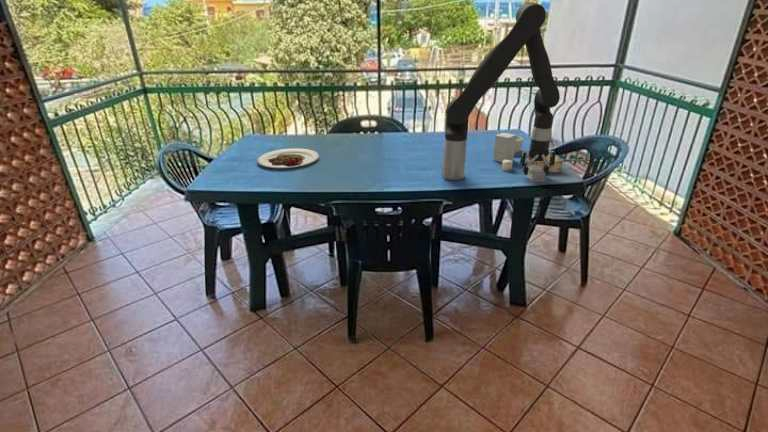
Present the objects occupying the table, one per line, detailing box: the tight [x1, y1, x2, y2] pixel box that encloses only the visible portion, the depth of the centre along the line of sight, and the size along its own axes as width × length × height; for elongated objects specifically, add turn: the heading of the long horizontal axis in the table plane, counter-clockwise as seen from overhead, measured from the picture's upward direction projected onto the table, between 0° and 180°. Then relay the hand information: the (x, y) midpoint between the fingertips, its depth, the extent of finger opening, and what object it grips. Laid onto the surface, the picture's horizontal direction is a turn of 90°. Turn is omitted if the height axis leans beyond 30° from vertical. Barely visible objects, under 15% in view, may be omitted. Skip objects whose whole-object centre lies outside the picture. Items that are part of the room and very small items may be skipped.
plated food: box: [256, 148, 319, 169], centre depth 205 cm, size 30×30×3 cm
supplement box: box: [492, 132, 517, 163], centre depth 198 cm, size 7×7×13 cm
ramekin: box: [514, 135, 524, 155], centre depth 212 cm, size 13×13×7 cm
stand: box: [527, 155, 564, 173], centre depth 188 cm, size 12×10×5 cm
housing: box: [526, 165, 546, 183], centre depth 178 cm, size 10×5×4 cm, turn 177°
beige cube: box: [501, 160, 514, 172], centre depth 188 cm, size 4×4×4 cm
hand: (535, 174), depth 178 cm, fingers open, 8 cm apart
